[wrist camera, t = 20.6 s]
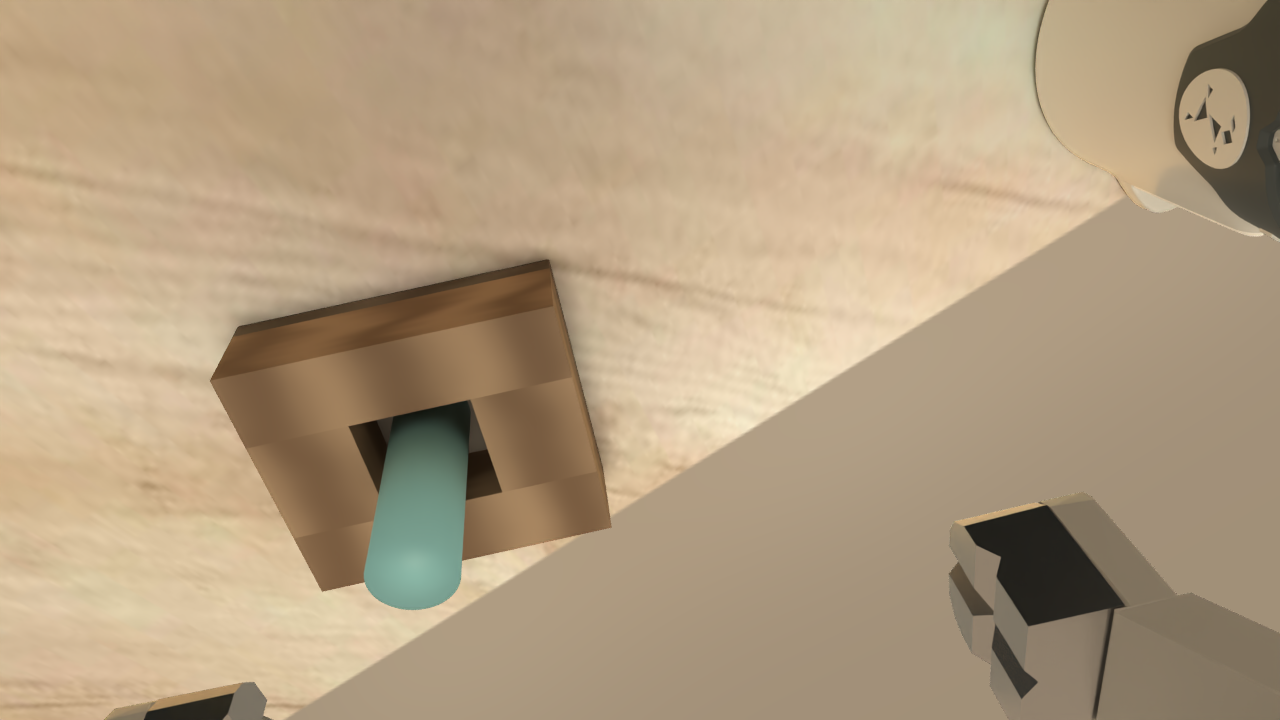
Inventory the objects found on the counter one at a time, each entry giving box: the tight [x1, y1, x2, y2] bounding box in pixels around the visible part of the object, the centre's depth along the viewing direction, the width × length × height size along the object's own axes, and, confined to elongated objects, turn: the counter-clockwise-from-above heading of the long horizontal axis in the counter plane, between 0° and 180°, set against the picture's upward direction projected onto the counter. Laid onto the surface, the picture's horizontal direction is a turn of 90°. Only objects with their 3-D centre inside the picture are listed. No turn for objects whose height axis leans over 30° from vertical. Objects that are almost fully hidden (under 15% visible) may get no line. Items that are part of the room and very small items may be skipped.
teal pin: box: [364, 400, 471, 610], centre depth 43 cm, size 4×4×12 cm
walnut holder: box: [210, 260, 611, 592], centre depth 47 cm, size 16×14×5 cm
